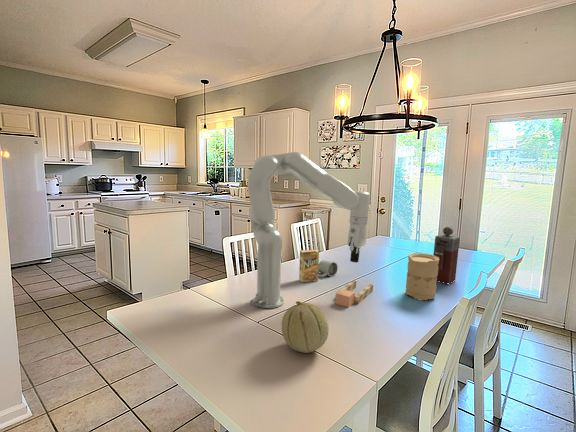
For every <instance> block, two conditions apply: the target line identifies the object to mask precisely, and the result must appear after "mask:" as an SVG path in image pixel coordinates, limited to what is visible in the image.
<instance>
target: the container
mask: <svg viewBox="0 0 576 432" xmlns="http://www.w3.org/2000/svg"><path fill="white" fill-rule="evenodd" d="M438 264H439V258H438V257H436V256H434V254H430V253H426V252H425V253H424V252H423V253H422V252H413V253H410V254H408V262H407V272H406V282H405V283H406V284H405V295H406V294H407V295H409V297H412V298H414V299H415V300H416V299H421V300H420V301H423V300H425V301H428V299H429V300H433V299H435V297H436V293H437V283H438V282H437V278H436V277H437V276H438ZM407 295H406V296H407Z"/></svg>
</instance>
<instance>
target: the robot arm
mask: <svg viewBox="0 0 576 432" xmlns="http://www.w3.org/2000/svg"><path fill="white" fill-rule="evenodd" d="M285 174H292V175H293V176H295V177H296V178H297V179H298V180H299V179H300V180H301V181H302V182H303V183H304V184H306V185H307V186H308V187H310V188H311V189H312V190H315V191H317V192H318V193H321V194H323V195H326V196H327V197H329V198H330V199H331V200H332V203H333V204H334V206H336V207H338V208H341V209H344V210H347V211H350V213H349V221H348V222H349V224H350V225H349V229H348V235H347V236H348V237H347V246H348V247H349V250H350V259H349V261H350V262H352V263H359V261H360V260H359V259H360V251H361V248H362V247H364V246H365V245H366V243H367V225H368V219H369V209H370V199H371V194H370V192H367V191H361V190H360V191H358V190H357V191H354V190H353V189H351V188H350V187H349V186H348V185H346V184H345V183H343V182H342V181H341V180H339V179H337V178H336V177H334V176H333V175H331V174H330V173H328V172H327V171H325V170H324V169H322V168H321V167H320V166H319V165H317V164H315V162H313V161H312V160H311V159H309V158H308V157H307V156H305V155H304V154H303V153H301V152H298V151H293V152H292V151H291V152H287V153H279V154H272V155H270V154H269V155H262V156H259V157H257V158H256V160H255V161H254V164H253V167H252V168H251V170H250V171H249V175H248V176H247V177H248V178H247V190H248V191H247V192H248V196H249V201H250V205H249V208H248V213H249V214H248V215H249V219H250V224H251V227H252V228H251V229H252V231H253V232H252V233H253V237H254V239H255V241H256V243H257V259H256V262H257V263H256V266H257V267H256V271H257V273H256V276H257V277H256V282H257V283H256V294H255V297H253V298H252V299H250V303H249V304H250V305H252V306H253V305H255V306H256V307H258V308H261V309H275V308H276V309H277V308H279V307H281V306H283V305H284V304H285V303H284V301H285V300H284V298H283V297H282V296H281V275H282V274H281V261H282V250H283V239H282V235H281V233H280V232H279V230H278V229H276V227H275V222H274V220H275V218H276V211H275V210H276V209H275V206H274V203H273V198H272V193H271V186H270V185H271V181H272V179H273V178H274V177H275V176H280V175H285Z"/></svg>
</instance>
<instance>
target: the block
mask: <svg viewBox="0 0 576 432" xmlns="http://www.w3.org/2000/svg"><path fill="white" fill-rule="evenodd" d="M340 289H341V290H340ZM340 289H339V290H340V291H339V290H338V292H336V293H335V305H339V306H343V307H346V308H350V307H351V306H352V305H354V304H355V296H356V292H355V291H353V290H352V291H348V290H344V289H342V288H340Z"/></svg>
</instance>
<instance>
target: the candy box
mask: <svg viewBox="0 0 576 432" xmlns="http://www.w3.org/2000/svg"><path fill="white" fill-rule="evenodd" d="M319 263H320V251H319V250H317V249H304V250H303V249H300V250H299V267H298V268H299V272H298V275H299V276H298V279H299V282H301V283H307V282H319V277H318V274H319V273H318V268H319Z"/></svg>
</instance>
